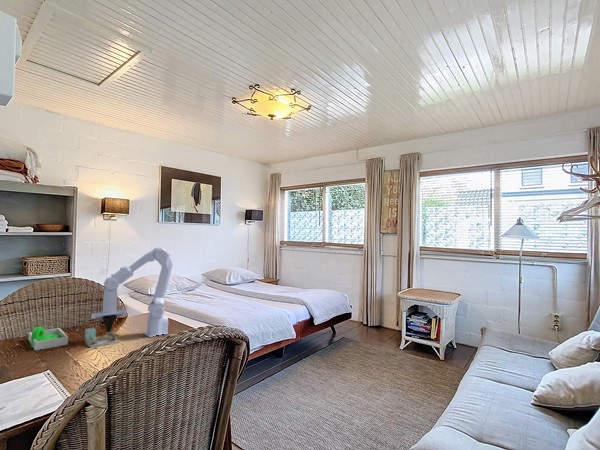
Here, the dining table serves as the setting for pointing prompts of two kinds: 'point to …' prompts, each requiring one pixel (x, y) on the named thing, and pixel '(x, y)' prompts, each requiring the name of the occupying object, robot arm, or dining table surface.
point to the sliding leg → (90, 334)
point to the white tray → (50, 340)
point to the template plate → (102, 342)
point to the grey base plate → (103, 337)
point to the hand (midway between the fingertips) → (108, 331)
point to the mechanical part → (42, 335)
